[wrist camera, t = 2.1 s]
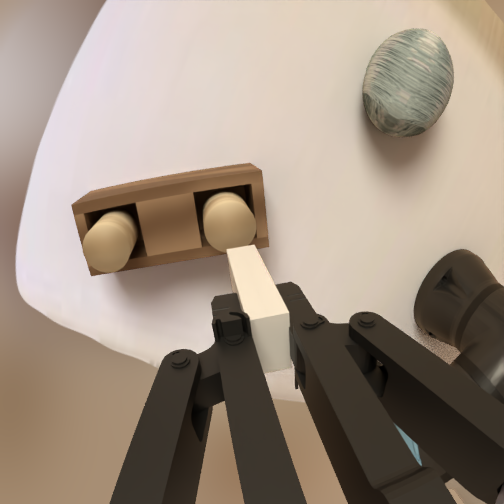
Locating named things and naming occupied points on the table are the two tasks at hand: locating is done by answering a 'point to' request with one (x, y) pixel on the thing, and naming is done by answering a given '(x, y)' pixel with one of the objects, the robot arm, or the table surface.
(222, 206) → the peg right
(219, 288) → the table surface
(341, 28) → the table surface
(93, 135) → the table surface
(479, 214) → the table surface
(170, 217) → the walnut block
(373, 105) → the grey green ridged egg
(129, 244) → the peg left
